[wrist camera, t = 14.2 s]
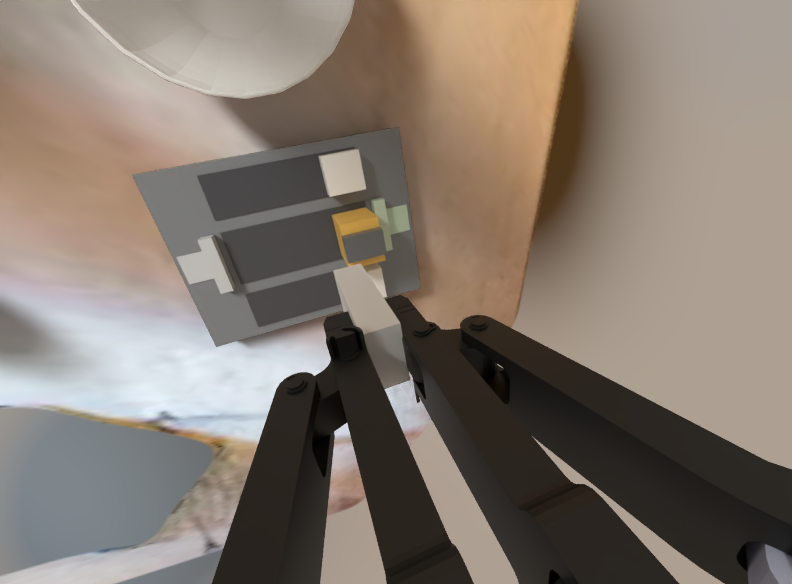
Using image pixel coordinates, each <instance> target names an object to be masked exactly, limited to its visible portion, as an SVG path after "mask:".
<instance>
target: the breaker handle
mask: <svg viewBox="0 0 792 584" xmlns="http://www.w3.org/2000/svg"><path fill="white" fill-rule="evenodd" d="M332 218H333V222H334V226H335V230H336V234H337V238H338V243H339V247H340V251H341V255H342V256H343V258H344V260H345V262H346V264H347V266H348V267H349V266H352V265H356V264H360V263H361V265H362V266H366V265H370V264H374V263H377V262H381V261H385V260H386V259H385V254H387V251H386V246H385V240H384V235H383V229H382V228H381V227H379V221H378V217H377V216H376V215H375V214H374V213H372V212H371V211H370V210H368V209H367V208H366V207H365V208H360V209H356V210H351V211H347V212H342V213H338V214H334V215H332Z"/></svg>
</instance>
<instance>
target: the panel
mask: <svg viewBox="0 0 792 584" xmlns="http://www.w3.org/2000/svg"><path fill="white" fill-rule="evenodd" d="M132 176H133V178H134V180H135V182H136V184H137V186H138V188H139V190H140V192H141V195H142V197H143V199H144V201H145V203H146V205H147V207H148V209H149V211H150V213H151V215H152V217H153V219H154V221H155V223H156V225H157V227H158V229H159V231H160V233H161V235H162V237H163V239H164V241H165V243H166V245H167V248H168V250H169V252H170V254H171V256H172V258H173V260H174V262H175V264H176V266H177V268H178V270H179V272H180V274H181V276H182V278H183V280H184V282H185V284H186V286H187V288H188V290H189V292H190V294H191V296H192V298H193V301H194V303H195V305H196V307H197V309H198V311H199V313H200V315H201V317H202V319H203V321H204V323H205V325H206V327H207V329H208V331H209V333H210V335H211V337H212V339H213V341H214V343H215V345H216V347H218V346H221V345H225V344H228V343H232V342H235V341H239V340H242V339H246V338H249V337H253V336H256V335H260V334H263V333H267V332H270V331H274V330H277V329H280V328H284V327H287V326H291V325H294V324H298V323H301V322H305V321H308V320H312V319H315V318H319V317H322V316H326V315H329V314H333V313H336V312H340V311H343V307H342V303H341V299H340V295H339V291H338V288H337V284H336V280H335V276H334V272H333V270H337V269H341V268H345V267H348V266H347V264H346V262H345V260H344V258H343V256H342V255H341V251H340V247H339V243H338V238H337V234H336V230H335V226H334V222H333V218H332V215H334V214H338V213H342V212H347V211H351V210H356V209H360V208H365V207H366V208H367V209H368V210H370V211H371V212H372V213H374V214H375V215H376V216H377V217H378V221H379V227H381V228H382V229H383V235H384V240H385V246H386V251H387V254H385V259H386V260H385V261H381V262H377V263H374V264H370V265H366V266H363V268H364V269H365V271H366V272H367V274H368V275H369V277H370V278H371V280H372V281H373V283H374V284H375V286H376V287H377V289H378V290H379V292H380V293H381V295H382V296H383V298H384V299H385V298H388V297H392V296H395V295H399V294H402V293H406V292H409V291H413V290H416V289H420V288H421V285H420V278H419V271H418V263H417V256H416V249H415V242H414V234H413V227H412V220H411V213H410V205H409V198H408V191H407V183H406V176H405V169H404V162H403V154H402V147H401V140H400V132H399V127H397V128H389V129H384V130H378V131H373V132H367V133H362V134H356V135H350V136H345V137H339V138H334V139H328V140H323V141H317V142H311V143H306V144H300V145H295V146H289V147H284V148H278V149H272V150H267V151H261V152H256V153H250V154H245V155H239V156H233V157H228V158H222V159H217V160H211V161H206V162H200V163H194V164H189V165H183V166H178V167H172V168H167V169H161V170H155V171H150V172H144V173H140V174H135V175H132Z"/></svg>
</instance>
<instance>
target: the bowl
mask: <svg viewBox="0 0 792 584" xmlns="http://www.w3.org/2000/svg"><path fill="white" fill-rule="evenodd" d="M70 1H71V2H72V3H73V5H74V6H75V7H76V8H77V10H78V11H79V12H80V14H81V15H82V16H84V17H85V18H86V19H87V20H88V21H89V22H90V23H91V24H92V25H93V26H94V27H95V28H96V29H98V30H99V31H100V32H101V33H102V34H103V35H104V36H105V37H106V38H107V39H108V40H109V41H110V42H111V43H113V44H114V45H115V46H116V47H117V48H118V49H119V50H120V51H121V52H122V53H124V54H125V55H127V56H128V57H130V58H132V59H133V60H135V61H136V62H138V63H139V64H141V65H143V66H144V67H146V68H147V69H149V70H151V71H152V72H154V73H155V74H157V75H158V76H160V77H162V78H163V79H165V80H167V81H170V82H172V83H175V84H178V85H181V86H183V87H186V88H189V89H192V90H195V91H197V92H200V93H203V94H206V95H211V96H221V97H230V98H240V99H249V98H255V97H260V96H266V95H271V94H277V93H281V92H283V91H285V90H287V89H288V88H290V87H292V86H294V85H296V84H298V83H299V82H301V81H303V80H305V79H307V78H309V77H310V76H311V75H312V74H313V73H314V72H315V71H316V70H317V69H318V68H319V67H320V66H321V65H322V64H323V63H324V61H325V60H326V59H327V58H328V57H329V56H330V55H331V54H332V53H333V52H334V50H335V48H336V46H337V44H338V42H339V40H340V39H341V37H342V35H343V33H344V31H345V29H346V27H347V25H348V23H349V21H350V19H351V15H352V11H353V7H354V2H355V0H70Z"/></svg>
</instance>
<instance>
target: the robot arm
mask: <svg viewBox="0 0 792 584" xmlns="http://www.w3.org/2000/svg"><path fill="white" fill-rule="evenodd" d="M333 272H334V276H335V280H336V284H337V288H338V291H339V295H340V299H341V303H342V307H343V311H344V312H343V313H340V314H337V315H333V316H330V317H326V320H325V322H324V324H323V325H324V329H325V333H326V337H327V338H326V344H327V347H328V350H329V353H330V357H331V362H330V364H329V365H328V367H327V368H326V369H325V370H323V371H322V372H321V373H319V374H317V375H316V376H313V374H310V373H307V372H302V373H297V374H293V375H291V376H289V377H287V378H286V379H284V380H283V381H282V382H281V383H280V384H279V386H278V388H277V389H276V392H275V395H274V398H273V401H272V404H271V407H270V410H269V413H268V416H267V419H266V422H265V425H264V428H263V431H262V434H261V437H260V441H259V444H258V447H257V450H256V453H255V456H254V459H253V462H252V465H251V468H250V471H249V474H248V477H247V480H246V483H245V486H244V489H243V492H242V495H241V498H240V501H239V504H238V507H237V510H236V513H235V516H234V519H233V522H232V525H231V528H230V531H229V534H228V537H227V540H226V543H225V546H224V549H223V552H222V555H221V558H220V561H219V564H218V567H217V570H216V573H215V576H214V579H213V582H212V584H320V578H321V568H322V558H323V547H324V537H325V528H326V517H327V508H328V498H329V488H330V477H331V467H332V457H333V447H334V437H335V436H334V431H335V430H337V429H338V428H340V427H341V426H343V425H344V424H346V423H348V427H349V431H350V435H351V439H352V443H353V447H354V451H355V455H356V459H357V463H358V466H359V470H360V474H361V478H362V482H363V486H364V490H365V494H366V498H367V502H368V506H369V510H370V514H371V518H372V522H373V526H374V530H375V534H376V538H377V541H378V546H379V550H380V553H381V557H382V561H383V565H384V570H385V574H386V581H387V584H474V583H473V581H472V579H471V576H470V574H469V572H468V570H467V567H466V565H465V563H464V561H463V559H462V557H461V555H460V553H459V551H458V549H457V548H456V546H455V545H454V544H452V543H451V541H450V539H449V537H448V535H447V533H446V531H445V528H444V526H443V524H442V521H441V519H440V517H439V514H438V512H437V510H436V507H435V505H434V503H433V500H432V498H431V496H430V494H429V491H428V489H427V487H426V484H425V482H424V480H423V477H422V475H421V473H420V470H419V468H418V466H417V464H416V461H415V459H414V457H413V454H412V452H411V450H410V447H409V445H408V443H407V440H406V438H405V436H404V433H403V431H402V429H401V427H400V424H399V422H398V420H397V417H396V415H395V413H394V410H393V408H392V406H391V403H390V401H389V399H388V396H387V394H386V392H385V390H384V389H386V388H389V387H391V386H394V385H397V384H400V383H403V382H406V381H409V380H410V376H409V372H410V373H411V375H412V377H413V382H414V388H415V394H416V400H417V403H418V402H420V399H421V401H422V402H423V404H424V406H425V408H426V410H427V412H428V413H429V415H430V417H431V419H432V421H433V422H434V424H435V426H436V428H437V430H438V432H439V434H440V435H441V437H442V439H443V441H444V443H445V445H446V446H447V448H448V450H449V452H450V454H451V456H452V457H453V459H454V461H455V463H456V465H457V467H458V468H459V470H460V472H461V474H462V476H463V477H464V479H465V481H466V483H467V485H468V487H469V488H470V490H471V492H472V494H473V496H474V498H475V500H476V501H477V503H478V505H479V507H480V509H481V510H482V512H483V514H484V516H485V518H486V520H487V522H488V523H489V525H490V527H491V529H492V531H493V533H494V534H495V536H496V538H497V540H498V542H499V544H500V545H501V547H502V549H503V551H504V553H505V555H506V556H507V558H508V560H509V562H510V564H511V566H512V568H513V569H514V572H515V574H516V576H517V579H518V582H519V584H679V583H678V582H677V581H676V580H675V579H674V577H673V576H672V575H671V574H670V573H669V572H668V571H667V570H666V568H665V567H664V566H663V565H662V564H661V563H660V562H659V561H658V560H657V558H656V557H655V556H654V555H653V554H652V553H651V552H650V551H649V550H648V548H647V547H646V546H645V545H644V544H643V543H642V542H641V541H640V540H639V539H638V537H637V536H636V535H635V534H634V533H633V532H632V531H631V529H630V528H629V527H628V526H627V525H626V524H625V523H624V522H623V521H622V520H621V518H620V517H619V516H618V515H617V514H616V513H615V512H614V511H613V509H612V508H611V507H610V506H609V505H608V504H607V503H606V502H605V501H604V500H603V498H602V497H601V496H599V495H598V494H597V493H596V492H595V491H594V490H593V489H592V488H590V487H589V486H587V485H585V484H574V483H573V482H571V481H570V480H569V479H568V478H567V477H566V476H565V475H564V474H563V473H562V471H561V470H560V469H559V468H558V467H557V465H556V464H555V463H554V462H553V461H552V460H551V458H550V457H549V456H548V455H547V454H546V453H545V451H544V450H543V449H542V448H541V447H540V445H539V444H538V443H537V442H536V441H535V440H534V438H535V439H536V440H538V441H539V442H540V443H541V444H543V445H544V446H545V447H546V448H548V449H549V450H550V451H552V452H553V453H554V454H555V455H557V456H558V457H559V458H561V459H562V460H563V461H564V462H565V463H567V464H568V465H569V466H571V467H572V468H573V469H574V470H576V471H577V472H578V473H579V474H581V475H582V476H583V477H584V478H586V479H587V480H588V481H590V482H591V483H592V484H593V485H595V486H596V487H597V488H598V489H600V490H601V491H602V492H604V493H605V494H606V495H607V496H609V497H610V498H611V499H612V500H614V501H615V502H616V503H617V504H619V505H620V506H621V507H622V508H624V509H625V510H626V511H627V512H629V513H630V514H631V515H633V516H634V517H635V518H636V519H637V520H639V521H640V522H641V523H643V524H644V525H645V526H647V527H648V528H649V529H650V530H651V531H653V532H654V533H655V534H657V535H658V536H659V537H660V538H662V539H663V540H664V541H665V542H667V543H668V544H669V545H670V546H672V547H673V548H674V549H676V550H677V551H678V552H680V553H681V554H682V555H684V556H685V557H687V558H688V559H689V560H690V561H692V562H693V563H695V564H696V565H697V566H699V567H700V568H701V569H703V570H704V571H706V572H708V573H709V574H711V575H712V576H714V577H715V578H717V579H718V580H720V581H721V582H723V583H725V584H792V470H791V469H788V468H786V467H783V466H779V465H777V464H774V463H770V462H768V461H766V460H764V459H762V458H760V457H758V456H756V455H754V454H752V453H750V452H748V451H746V450H744V449H743V448H740V447H739V446H737V445H735V444H733V443H731V442H729V441H727V440H725V439H723V438H721V437H719V436H717V435H715V434H714V433H712V432H710V431H708V430H706V429H704V428H702V427H700V426H698V425H696V424H694V423H693V422H691V421H689V420H687V419H685V418H683V417H681V416H679V415H677V414H675V413H673V412H671V411H669V410H668V409H665V408H663V407H662V406H660V405H658V404H656V403H654V402H652V401H650V400H648V399H646V398H644V397H642V396H640V395H639V394H637V393H635V392H633V391H631V390H629V389H627V388H625V387H623V386H621V385H619V384H617V383H616V382H614V381H612V380H610V379H608V378H606V377H604V376H602V375H600V374H598V373H596V372H594V371H592V370H590V369H589V368H587V367H585V366H583V365H581V364H579V363H577V362H575V361H573V360H571V359H569V358H567V357H565V356H564V355H562V354H560V353H558V352H556V351H554V350H552V349H550V348H548V347H546V346H544V345H542V344H540V343H539V342H537V341H535V340H532V339H531V338H529V337H527V336H525V335H523V334H521V333H519V332H517V331H515V330H513V329H512V328H510V327H508V326H506V325H504V324H502V323H500V322H498V321H496V320H494V319H492V318H490V317H487V316H482V315H474V316H470V317H467V318H465V319H464V320H463V321H462V322H461V324H460V328H461V329H452V330H441V329H440V328H439V326H438V325H436V324H435V323H432V322H427V321H426V320H425V319H424V318H423V316H422V315H421V314H420V313H419V311H418V310H417V309H416V308H415V307H414V305H412V303H411V302H410V300H409V299H408V298H406V297H403V296H401V295H399V296H395V297H392V298H388V299H384V298H383V296H382V295H381V293H380V292H379V290H378V289H377V287H376V286H375V284H374V283H373V281H372V280H371V278H370V277H369V275H368V274H367V272H366V271H365V269H364V268H363V266H362V265H361V263H360V264H356V265H352V266H349V267H345V268H341V269H337V270H333ZM497 364H499V365H501V366H502V367H503V368H504V369H503V368H501V367H499V366H498V365H497ZM419 397H420V399H419ZM532 436H533V437H534V438H533V437H532Z"/></svg>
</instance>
